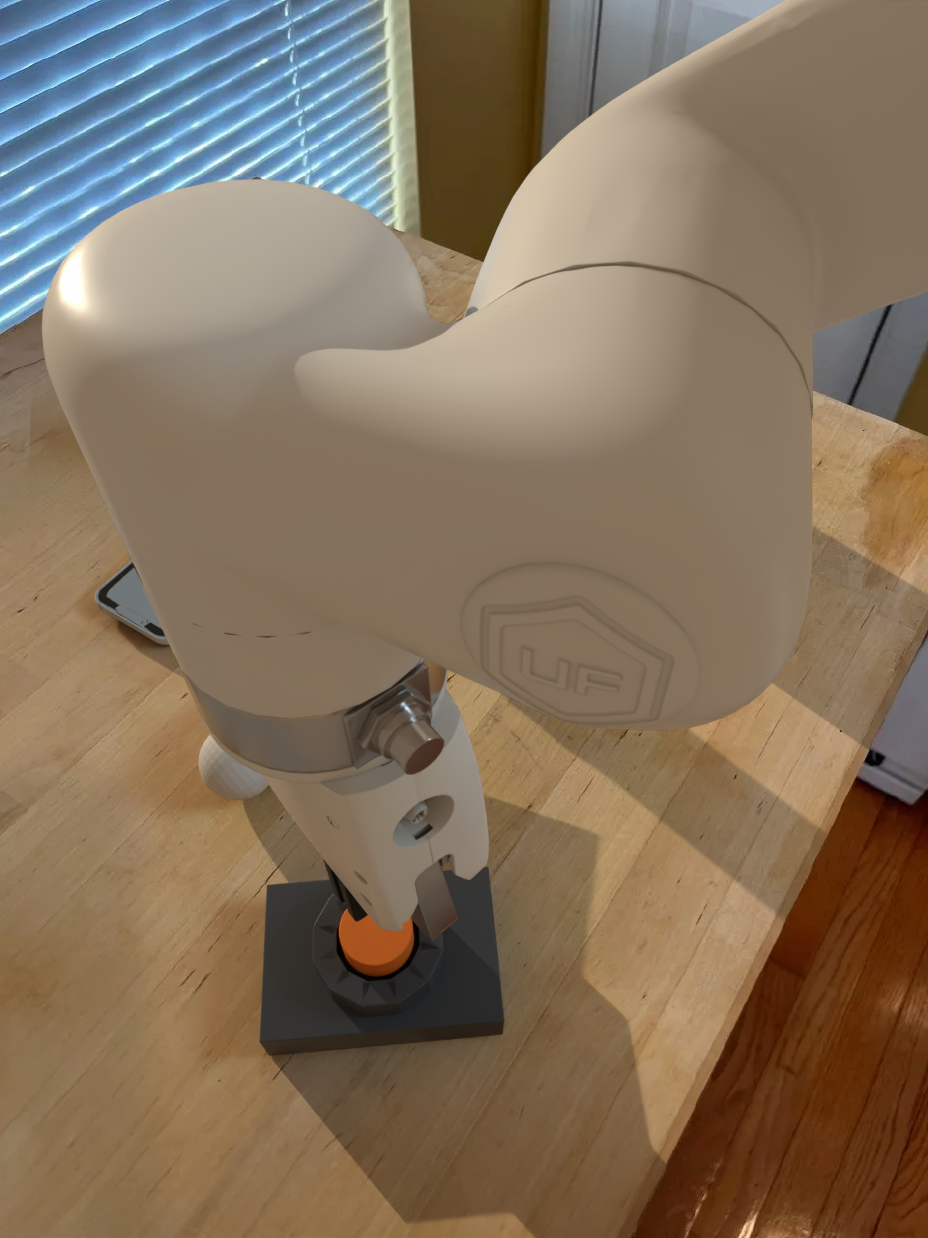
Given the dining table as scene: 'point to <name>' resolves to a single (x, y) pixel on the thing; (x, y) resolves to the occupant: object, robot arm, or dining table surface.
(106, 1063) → the dining table surface
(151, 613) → the smartphone
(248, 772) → the ice cream cone
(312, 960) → the control block
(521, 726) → the dining table surface
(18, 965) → the dining table surface
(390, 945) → the button
